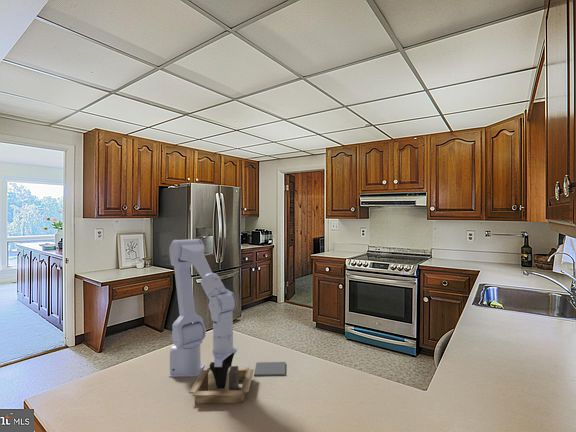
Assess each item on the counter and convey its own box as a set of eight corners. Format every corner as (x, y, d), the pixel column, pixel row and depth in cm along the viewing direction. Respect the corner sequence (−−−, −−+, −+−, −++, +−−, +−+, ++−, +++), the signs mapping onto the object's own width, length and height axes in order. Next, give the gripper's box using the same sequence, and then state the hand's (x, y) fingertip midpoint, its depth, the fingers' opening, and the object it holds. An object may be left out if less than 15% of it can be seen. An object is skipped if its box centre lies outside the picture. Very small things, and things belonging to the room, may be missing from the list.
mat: (253, 376, 102) (253, 374, 102) (256, 363, 111) (256, 362, 111) (285, 375, 102) (285, 373, 102) (285, 363, 111) (285, 361, 111)
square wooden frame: (187, 406, 86) (187, 395, 86) (203, 377, 102) (203, 368, 102) (247, 405, 86) (247, 394, 86) (254, 376, 102) (254, 367, 102)
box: (208, 394, 92) (207, 373, 92) (211, 386, 96) (211, 366, 96) (236, 394, 92) (235, 373, 92) (238, 386, 96) (238, 366, 96)
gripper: (232, 343, 87) (233, 393, 87) (240, 326, 102) (240, 369, 101) (206, 343, 87) (207, 394, 87) (218, 326, 101) (218, 370, 101)
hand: (223, 381), depth 94 cm, fingers open, 7 cm apart
